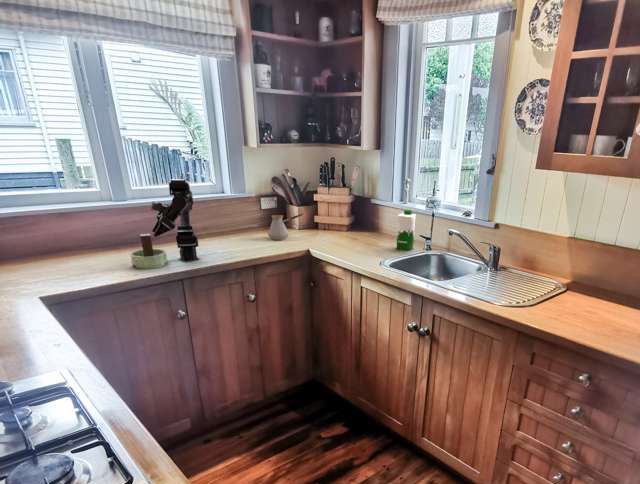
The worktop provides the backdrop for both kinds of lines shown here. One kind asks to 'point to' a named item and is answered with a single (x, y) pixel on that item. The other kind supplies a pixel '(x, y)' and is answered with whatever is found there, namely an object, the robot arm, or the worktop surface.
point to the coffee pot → (279, 227)
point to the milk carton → (405, 230)
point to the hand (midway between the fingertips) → (153, 234)
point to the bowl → (149, 259)
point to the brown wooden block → (146, 245)
